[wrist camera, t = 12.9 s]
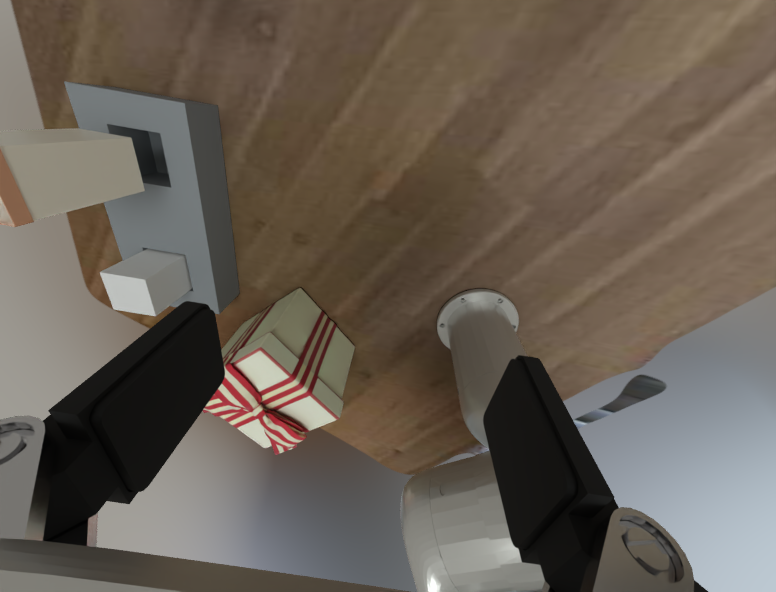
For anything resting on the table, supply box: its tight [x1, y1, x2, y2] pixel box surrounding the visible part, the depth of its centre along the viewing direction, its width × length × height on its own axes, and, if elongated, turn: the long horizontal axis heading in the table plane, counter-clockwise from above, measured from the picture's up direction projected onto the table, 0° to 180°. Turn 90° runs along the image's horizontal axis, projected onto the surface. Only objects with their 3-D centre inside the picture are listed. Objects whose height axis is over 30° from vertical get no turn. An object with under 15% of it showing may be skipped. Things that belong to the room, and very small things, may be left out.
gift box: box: [203, 288, 355, 455], centre depth 46 cm, size 17×18×17 cm
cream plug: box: [0, 128, 145, 227], centre depth 25 cm, size 5×5×12 cm
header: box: [64, 82, 240, 316], centre depth 36 cm, size 26×12×13 cm, turn 171°
